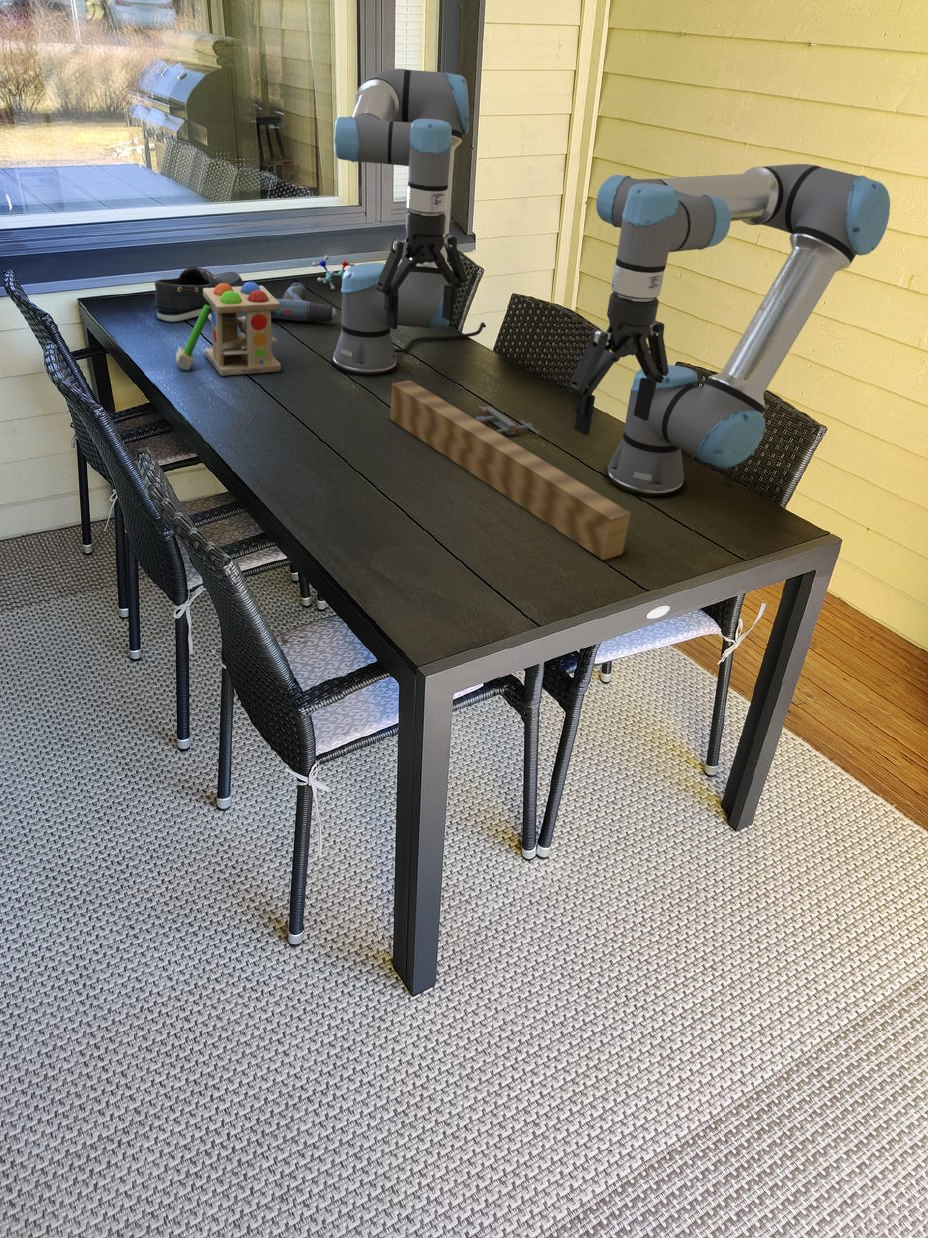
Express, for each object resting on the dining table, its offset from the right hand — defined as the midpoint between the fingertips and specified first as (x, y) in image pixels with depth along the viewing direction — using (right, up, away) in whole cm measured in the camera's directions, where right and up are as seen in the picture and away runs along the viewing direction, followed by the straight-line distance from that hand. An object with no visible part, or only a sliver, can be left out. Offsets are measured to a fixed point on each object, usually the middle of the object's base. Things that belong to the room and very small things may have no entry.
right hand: (611, 424), depth 162 cm
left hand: (-33, +28, +35) cm, 56 cm away
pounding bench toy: (-80, +28, +69) cm, 109 cm away
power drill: (-67, +51, +105) cm, 135 cm away
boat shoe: (-95, +52, +103) cm, 150 cm away
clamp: (-16, +9, +51) cm, 55 cm away
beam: (-18, -5, +30) cm, 36 cm away
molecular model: (-64, +67, +129) cm, 158 cm away
